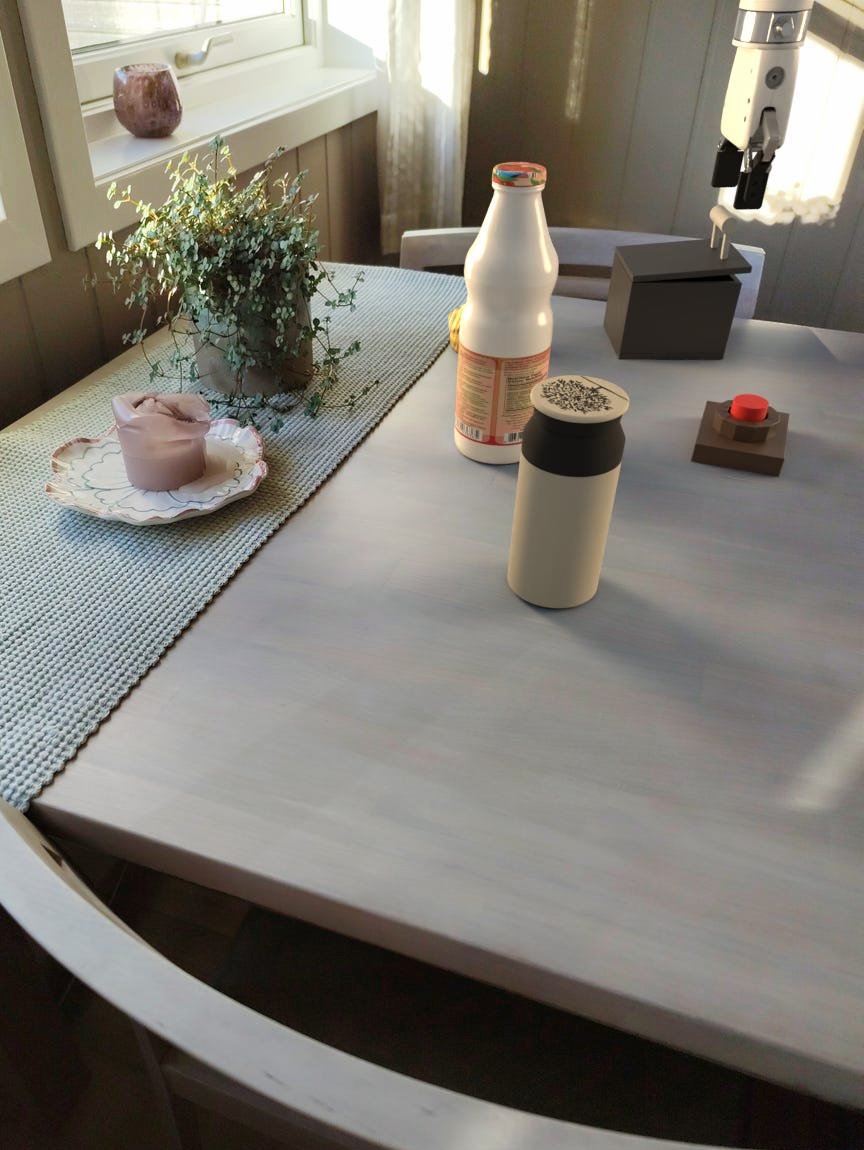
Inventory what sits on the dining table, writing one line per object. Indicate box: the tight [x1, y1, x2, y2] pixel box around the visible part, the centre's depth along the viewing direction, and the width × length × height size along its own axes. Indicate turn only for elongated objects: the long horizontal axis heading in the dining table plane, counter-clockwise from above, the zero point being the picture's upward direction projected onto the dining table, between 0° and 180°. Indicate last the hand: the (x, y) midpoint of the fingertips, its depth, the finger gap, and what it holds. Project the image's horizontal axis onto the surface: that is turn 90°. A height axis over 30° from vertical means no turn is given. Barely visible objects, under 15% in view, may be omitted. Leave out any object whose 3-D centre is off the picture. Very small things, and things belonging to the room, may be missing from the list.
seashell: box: [447, 303, 465, 354], centre depth 118 cm, size 10×7×8 cm
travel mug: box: [506, 374, 630, 609], centre depth 74 cm, size 8×8×18 cm
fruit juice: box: [453, 161, 559, 465], centre depth 90 cm, size 9×9×28 cm
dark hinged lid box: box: [602, 252, 743, 361], centre depth 118 cm, size 14×12×10 cm
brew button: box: [730, 393, 770, 422], centre depth 96 cm, size 4×4×2 cm
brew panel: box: [690, 399, 790, 478], centre depth 98 cm, size 11×9×4 cm
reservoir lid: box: [614, 204, 753, 282], centre depth 112 cm, size 14×12×6 cm
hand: (734, 197), depth 109 cm, fingers open, 9 cm apart
